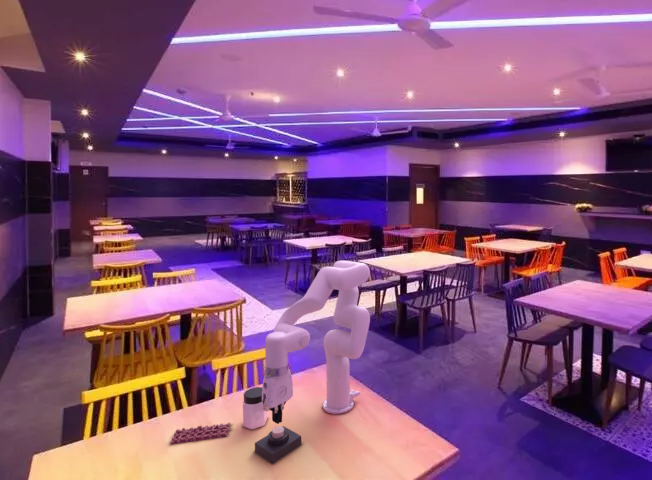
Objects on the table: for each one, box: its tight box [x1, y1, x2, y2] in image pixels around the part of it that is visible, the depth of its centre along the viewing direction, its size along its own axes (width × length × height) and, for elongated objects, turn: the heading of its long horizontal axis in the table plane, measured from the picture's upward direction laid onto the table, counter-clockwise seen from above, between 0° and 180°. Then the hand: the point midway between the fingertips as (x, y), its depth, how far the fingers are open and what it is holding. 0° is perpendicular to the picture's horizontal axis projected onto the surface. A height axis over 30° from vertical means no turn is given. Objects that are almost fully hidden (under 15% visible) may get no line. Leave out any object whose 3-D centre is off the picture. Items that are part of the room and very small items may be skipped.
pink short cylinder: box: [271, 425, 284, 439], centre depth 138 cm, size 4×4×2 cm
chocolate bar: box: [170, 422, 231, 445], centre depth 147 cm, size 7×19×2 cm, turn 103°
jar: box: [242, 386, 268, 430], centre depth 153 cm, size 9×8×12 cm
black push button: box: [254, 425, 302, 464], centre depth 138 cm, size 12×10×5 cm
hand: (277, 421), depth 138 cm, fingers closed
